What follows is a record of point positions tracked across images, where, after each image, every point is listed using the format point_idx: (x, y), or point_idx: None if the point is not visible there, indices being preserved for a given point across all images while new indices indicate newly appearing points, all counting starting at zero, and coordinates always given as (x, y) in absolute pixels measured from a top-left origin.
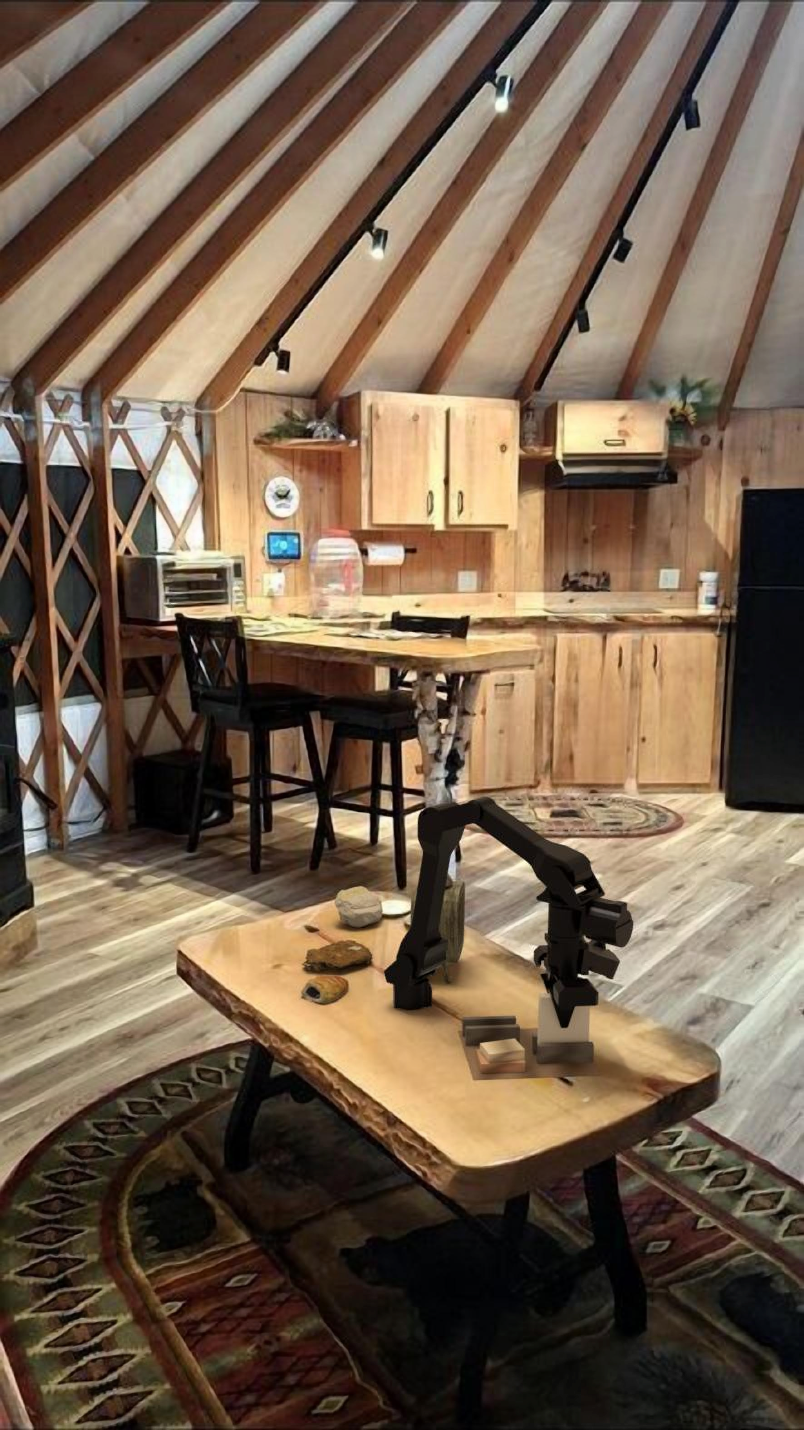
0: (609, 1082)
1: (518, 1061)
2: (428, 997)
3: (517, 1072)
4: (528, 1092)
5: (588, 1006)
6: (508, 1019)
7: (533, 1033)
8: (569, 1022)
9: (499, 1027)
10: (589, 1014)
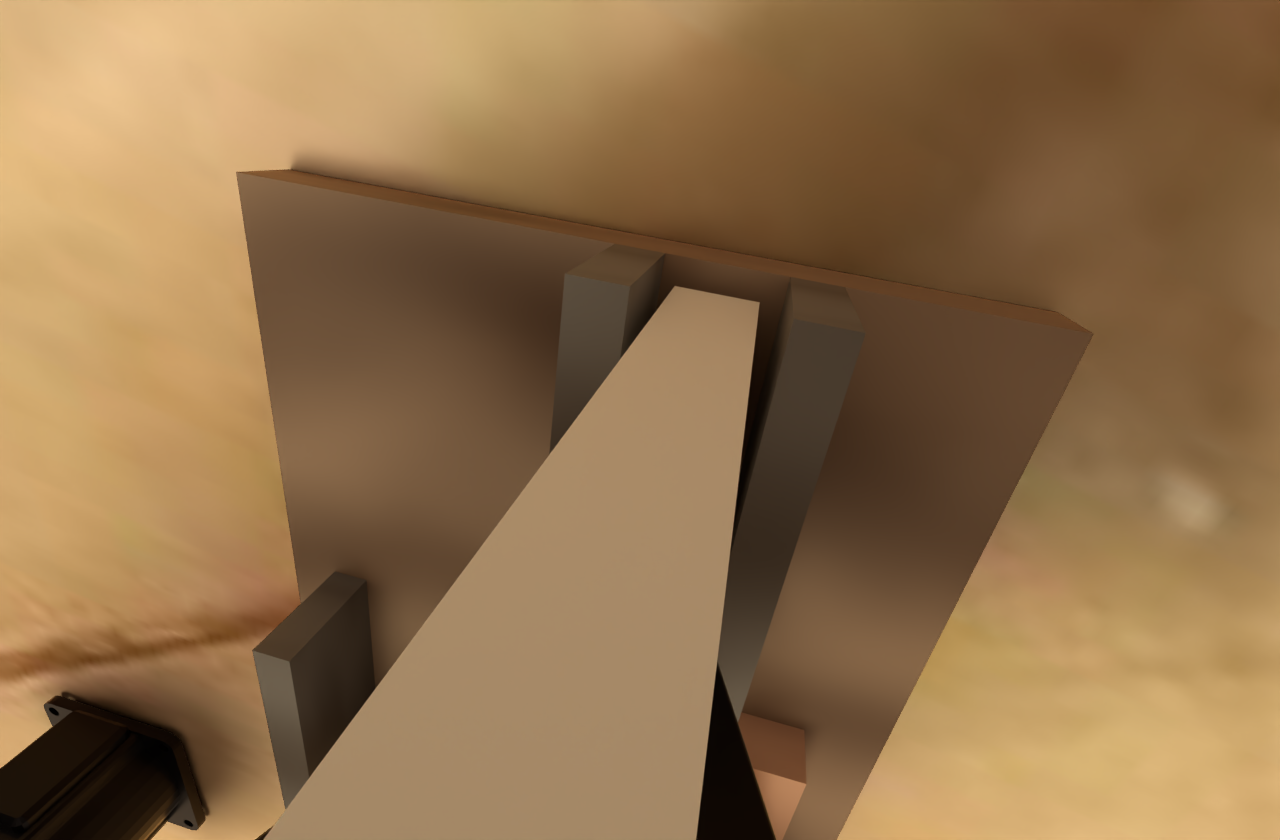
0: (1061, 221)
1: (775, 801)
2: (72, 798)
3: None
4: (925, 721)
5: (707, 649)
6: (300, 691)
7: (346, 485)
8: (731, 710)
9: None
10: (731, 504)
